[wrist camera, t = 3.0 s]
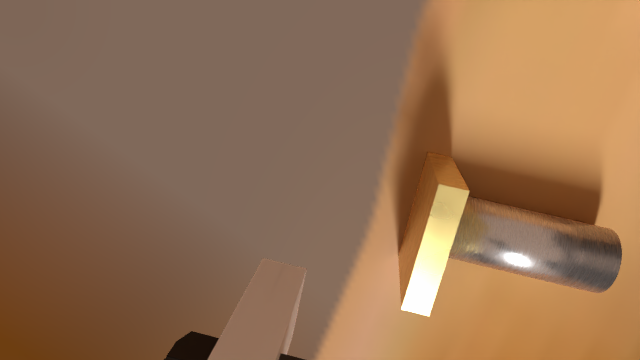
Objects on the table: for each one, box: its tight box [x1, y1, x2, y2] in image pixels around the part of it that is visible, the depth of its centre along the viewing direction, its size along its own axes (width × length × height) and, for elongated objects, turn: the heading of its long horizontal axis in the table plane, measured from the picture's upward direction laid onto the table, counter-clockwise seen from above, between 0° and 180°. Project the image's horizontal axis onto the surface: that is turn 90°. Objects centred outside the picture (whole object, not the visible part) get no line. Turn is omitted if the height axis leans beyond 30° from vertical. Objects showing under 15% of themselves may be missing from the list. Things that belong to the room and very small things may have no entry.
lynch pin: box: [398, 152, 622, 316], centre depth 24 cm, size 10×7×6 cm, turn 79°
